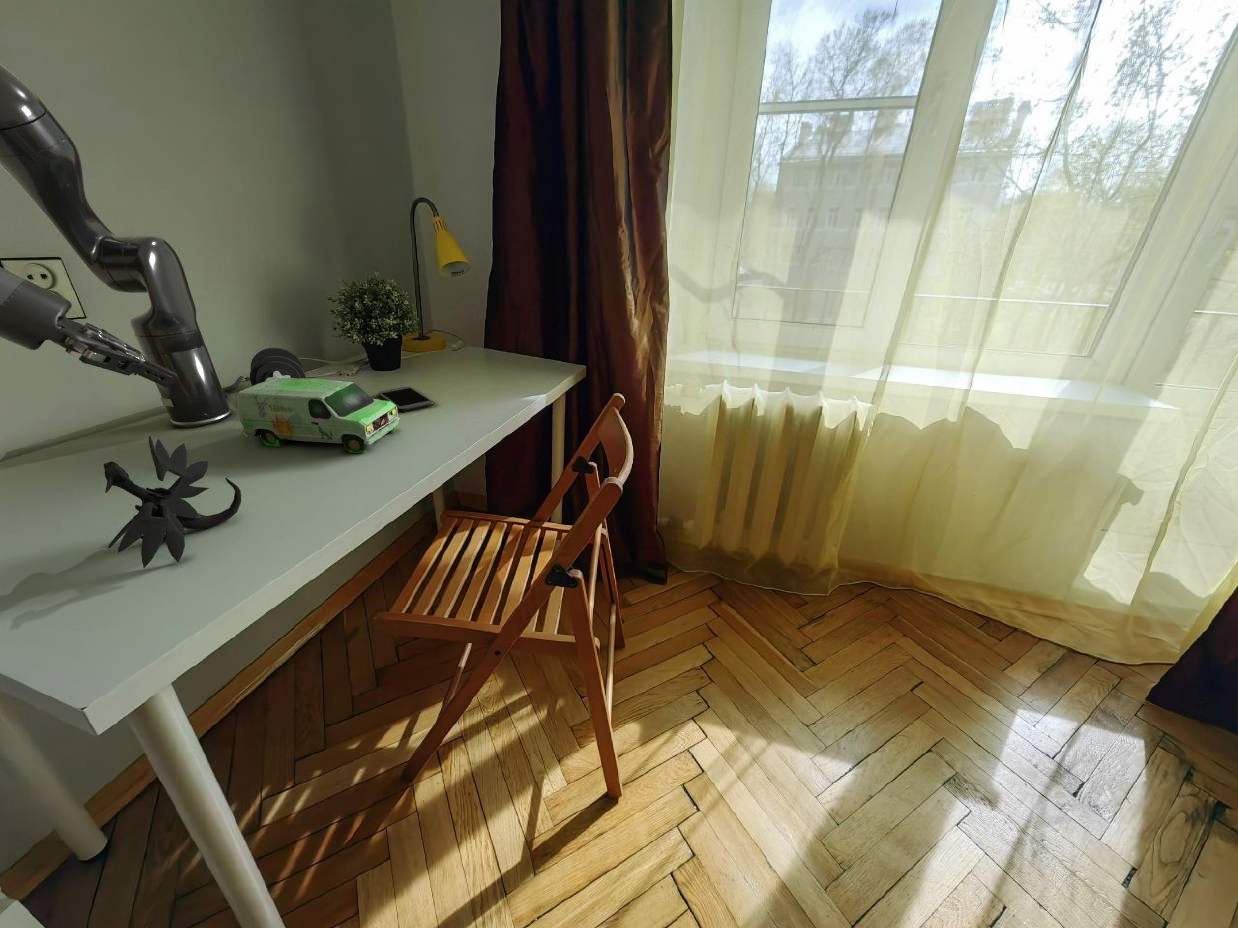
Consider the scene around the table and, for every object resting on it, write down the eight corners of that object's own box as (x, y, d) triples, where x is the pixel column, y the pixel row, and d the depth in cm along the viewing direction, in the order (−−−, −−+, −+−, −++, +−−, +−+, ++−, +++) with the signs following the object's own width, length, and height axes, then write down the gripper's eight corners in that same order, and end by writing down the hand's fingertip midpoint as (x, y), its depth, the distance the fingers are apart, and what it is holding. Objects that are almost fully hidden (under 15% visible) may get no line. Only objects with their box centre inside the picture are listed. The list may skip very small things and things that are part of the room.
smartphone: (409, 388, 115) (408, 384, 115) (436, 405, 105) (435, 401, 105) (376, 395, 111) (376, 391, 110) (401, 413, 101) (400, 409, 100)
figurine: (212, 589, 63) (215, 564, 55) (73, 577, 56) (54, 547, 48) (250, 478, 70) (257, 444, 63) (132, 456, 63) (124, 414, 56)
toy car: (372, 455, 84) (358, 399, 79) (243, 445, 87) (223, 391, 82) (405, 431, 93) (394, 380, 88) (288, 422, 96) (272, 373, 92)
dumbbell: (314, 406, 105) (300, 360, 100) (258, 415, 100) (241, 367, 95) (307, 380, 121) (295, 339, 116) (258, 386, 116) (244, 344, 111)
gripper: (10, 284, 55) (192, 370, 67) (30, 272, 64) (187, 351, 76) (-34, 338, 54) (158, 415, 67) (-7, 319, 63) (158, 390, 76)
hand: (173, 381), depth 72 cm, fingers closed
